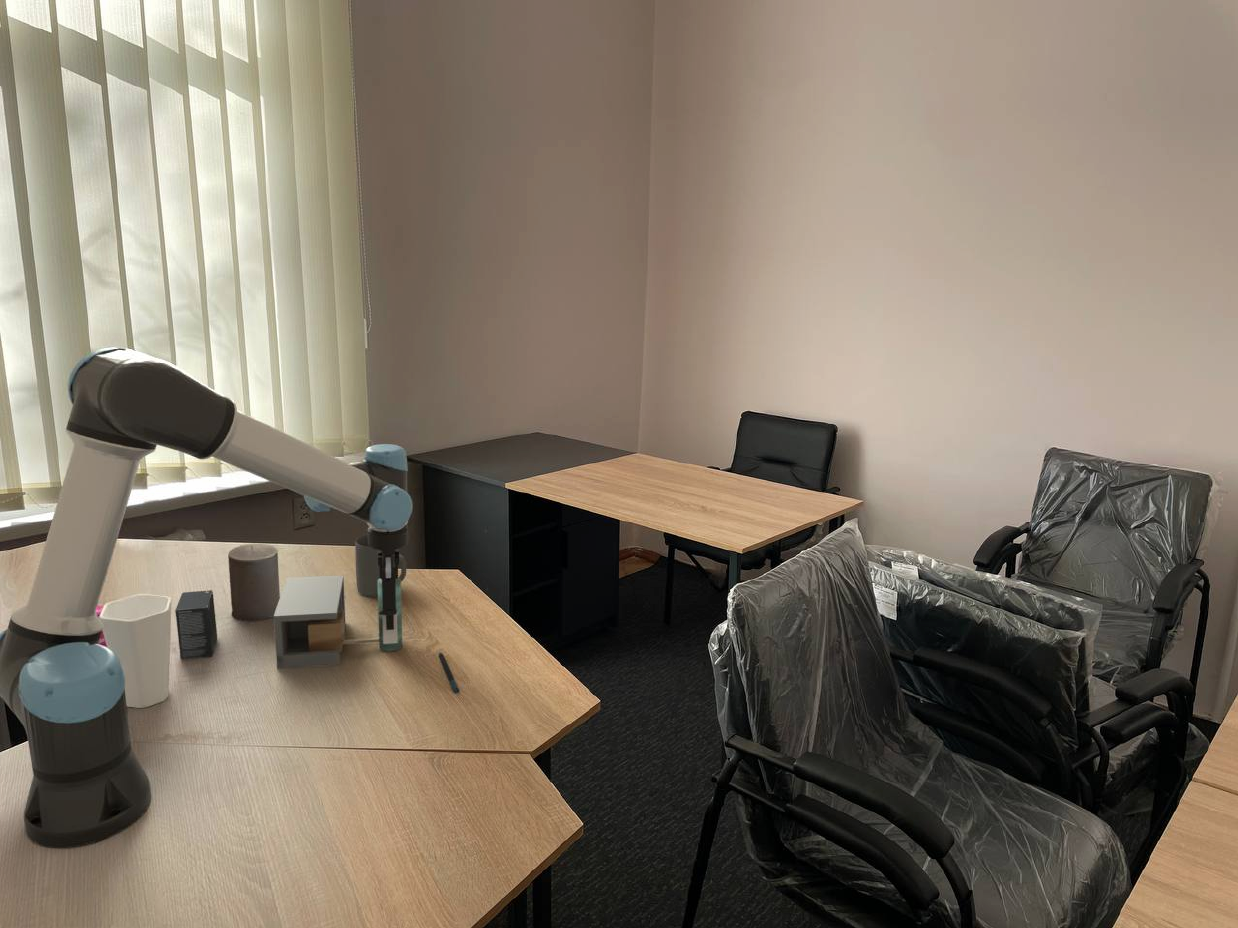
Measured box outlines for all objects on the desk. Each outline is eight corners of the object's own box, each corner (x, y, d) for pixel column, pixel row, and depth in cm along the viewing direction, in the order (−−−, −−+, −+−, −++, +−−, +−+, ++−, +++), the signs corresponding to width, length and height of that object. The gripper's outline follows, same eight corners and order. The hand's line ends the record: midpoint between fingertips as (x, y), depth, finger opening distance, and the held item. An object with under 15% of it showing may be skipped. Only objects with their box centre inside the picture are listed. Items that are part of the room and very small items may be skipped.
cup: (118, 685, 153) (107, 596, 149) (182, 677, 157) (173, 590, 152) (106, 718, 143) (95, 624, 139) (175, 709, 147) (165, 617, 142)
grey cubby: (338, 664, 164) (336, 612, 161) (277, 668, 161) (273, 616, 159) (345, 622, 181) (343, 575, 178) (289, 625, 178) (286, 577, 176)
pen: (442, 654, 170) (442, 649, 170) (459, 694, 157) (459, 688, 156) (437, 655, 170) (436, 650, 170) (453, 695, 156) (453, 689, 156)
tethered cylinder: (402, 652, 169) (400, 586, 166) (309, 658, 166) (305, 590, 162) (402, 638, 175) (400, 574, 171) (312, 643, 171) (309, 578, 167)
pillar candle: (221, 617, 181) (216, 550, 177) (251, 598, 190) (247, 534, 186) (262, 624, 179) (258, 557, 174) (290, 605, 188) (287, 541, 184)
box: (186, 641, 170) (181, 591, 167) (217, 638, 172) (213, 589, 169) (179, 660, 163) (174, 608, 160) (212, 657, 164) (208, 606, 162)
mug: (348, 590, 196) (346, 541, 193) (378, 578, 204) (377, 530, 201) (391, 606, 189) (389, 555, 186) (420, 592, 197) (420, 543, 194)
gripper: (408, 540, 158) (410, 656, 164) (408, 510, 174) (410, 616, 180) (365, 542, 156) (369, 659, 162) (369, 511, 172) (372, 618, 179)
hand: (390, 636), depth 171 cm, fingers closed on tethered cylinder, 4 cm apart
